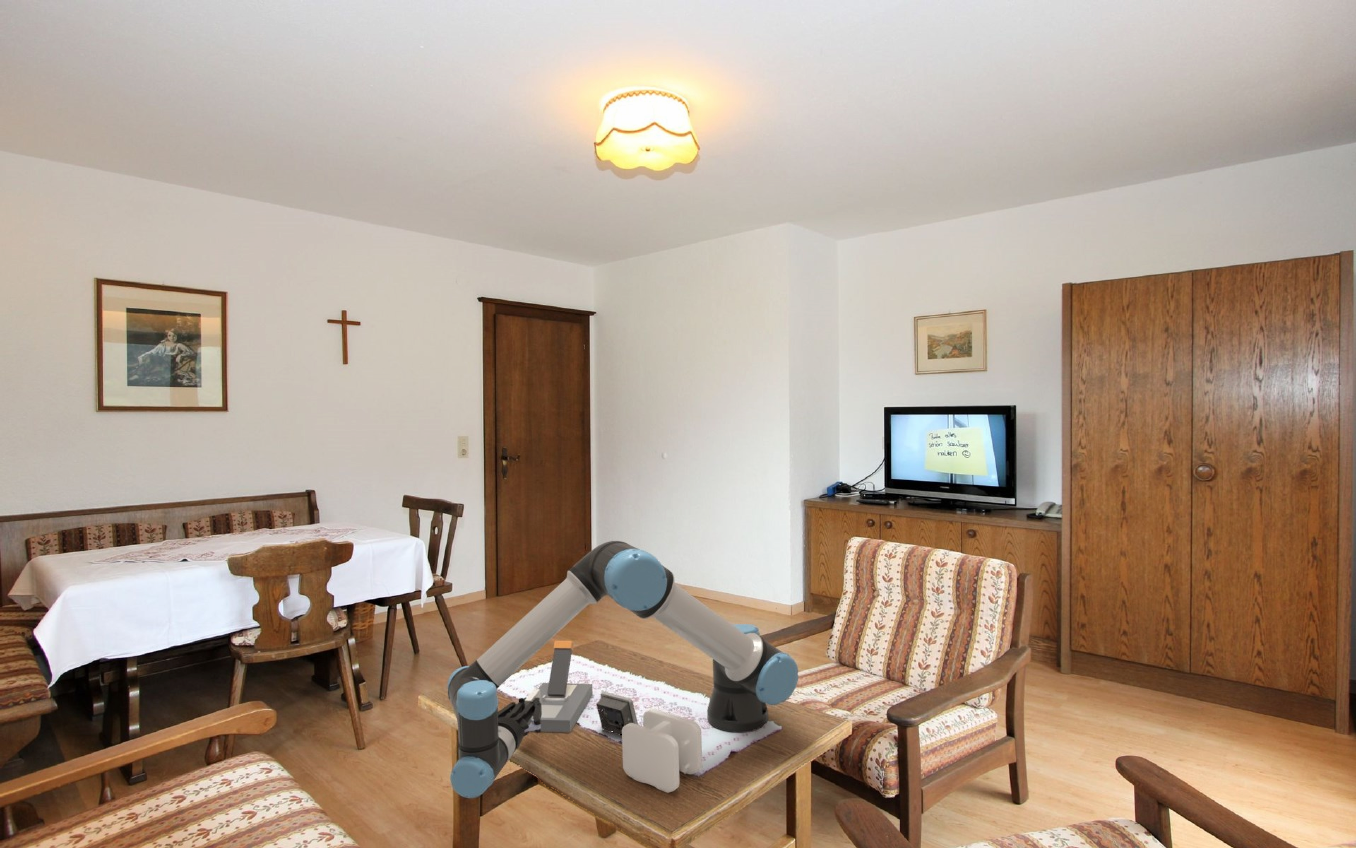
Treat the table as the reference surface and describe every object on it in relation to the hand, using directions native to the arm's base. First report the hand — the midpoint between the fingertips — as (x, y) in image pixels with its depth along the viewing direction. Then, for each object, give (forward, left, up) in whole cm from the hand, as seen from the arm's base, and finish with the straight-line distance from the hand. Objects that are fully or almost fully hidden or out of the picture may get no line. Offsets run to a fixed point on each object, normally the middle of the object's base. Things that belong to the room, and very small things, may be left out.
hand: (537, 694), depth 168 cm
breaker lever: (+12, -7, -6) cm, 16 cm away
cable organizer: (-29, -20, -11) cm, 37 cm away
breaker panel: (+12, -7, -10) cm, 17 cm away
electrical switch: (-6, -18, -11) cm, 22 cm away
